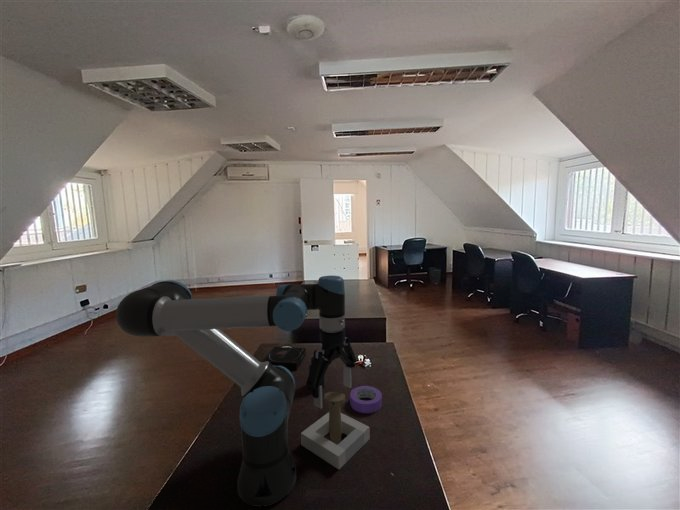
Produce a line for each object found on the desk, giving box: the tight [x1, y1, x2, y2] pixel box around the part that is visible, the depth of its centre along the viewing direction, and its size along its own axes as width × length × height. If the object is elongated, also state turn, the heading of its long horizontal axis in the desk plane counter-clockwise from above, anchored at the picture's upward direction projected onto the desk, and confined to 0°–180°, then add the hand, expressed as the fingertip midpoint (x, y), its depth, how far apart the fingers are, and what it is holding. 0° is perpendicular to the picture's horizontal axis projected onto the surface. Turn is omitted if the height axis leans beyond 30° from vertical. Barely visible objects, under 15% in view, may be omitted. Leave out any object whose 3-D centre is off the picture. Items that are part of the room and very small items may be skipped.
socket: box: [300, 411, 371, 470], centre depth 94 cm, size 15×15×4 cm
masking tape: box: [349, 385, 383, 414], centre depth 114 cm, size 12×12×4 cm
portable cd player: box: [261, 346, 307, 372], centre depth 149 cm, size 16×17×4 cm
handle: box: [323, 391, 346, 445], centre depth 94 cm, size 5×6×15 cm
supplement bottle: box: [308, 355, 326, 389], centre depth 126 cm, size 7×7×12 cm
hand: (333, 396), depth 93 cm, fingers open, 13 cm apart
